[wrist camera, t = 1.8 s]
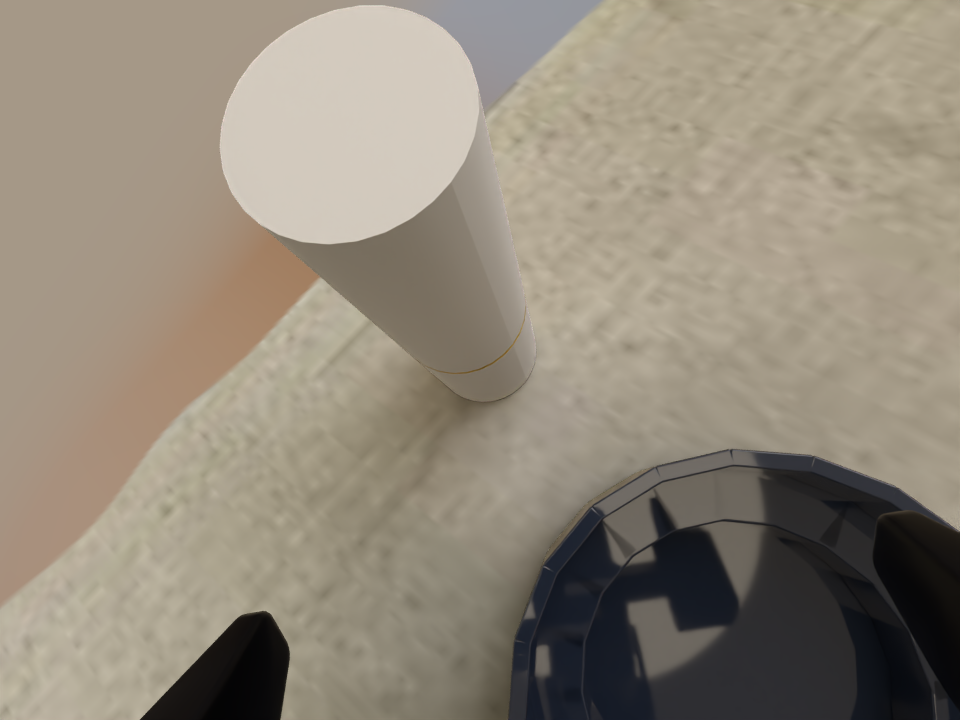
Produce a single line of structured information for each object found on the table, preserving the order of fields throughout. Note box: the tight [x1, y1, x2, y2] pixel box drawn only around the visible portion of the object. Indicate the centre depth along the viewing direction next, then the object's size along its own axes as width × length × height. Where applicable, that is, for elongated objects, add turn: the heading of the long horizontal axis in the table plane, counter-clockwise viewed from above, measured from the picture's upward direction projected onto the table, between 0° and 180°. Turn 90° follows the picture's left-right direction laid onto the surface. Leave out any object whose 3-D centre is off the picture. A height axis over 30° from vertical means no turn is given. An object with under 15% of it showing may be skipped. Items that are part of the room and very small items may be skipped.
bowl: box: [508, 449, 960, 720], centre depth 17 cm, size 14×14×5 cm
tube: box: [220, 5, 536, 402], centre depth 16 cm, size 4×4×15 cm
